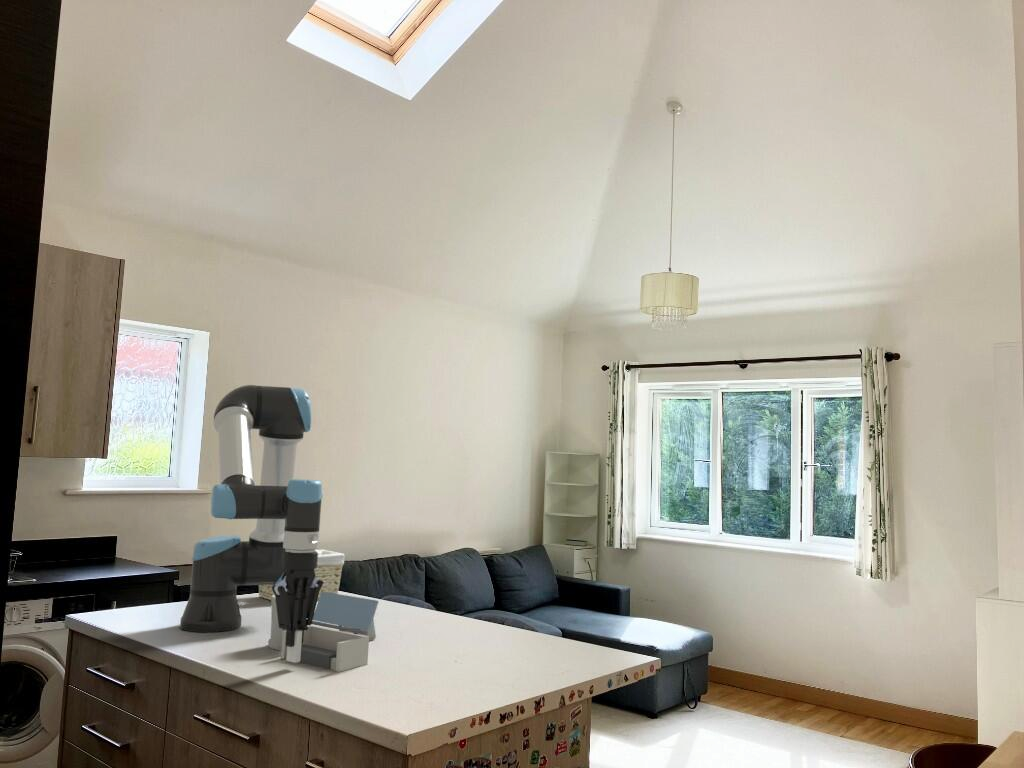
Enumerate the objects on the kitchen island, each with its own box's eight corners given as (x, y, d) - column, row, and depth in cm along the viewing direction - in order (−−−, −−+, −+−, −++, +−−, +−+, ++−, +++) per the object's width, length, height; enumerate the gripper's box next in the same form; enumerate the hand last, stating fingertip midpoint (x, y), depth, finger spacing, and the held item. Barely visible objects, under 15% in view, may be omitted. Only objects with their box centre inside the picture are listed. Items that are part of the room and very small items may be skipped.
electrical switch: (347, 645, 196) (347, 606, 198) (334, 644, 199) (334, 605, 201) (376, 640, 203) (376, 602, 205) (362, 639, 207) (362, 602, 208)
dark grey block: (289, 660, 180) (290, 647, 180) (303, 657, 183) (304, 644, 184) (333, 670, 173) (334, 656, 173) (346, 667, 176) (347, 653, 176)
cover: (320, 590, 192) (324, 592, 193) (309, 623, 188) (313, 625, 189) (376, 600, 182) (379, 601, 183) (365, 634, 179) (369, 636, 180)
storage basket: (319, 591, 274) (322, 547, 275) (344, 598, 262) (347, 553, 263) (253, 597, 258) (256, 550, 259) (276, 605, 246) (279, 556, 247)
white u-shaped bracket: (280, 658, 181) (282, 631, 182) (310, 651, 189) (312, 625, 189) (338, 672, 172) (340, 643, 172) (367, 664, 179) (369, 636, 180)
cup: (318, 645, 195) (322, 595, 196) (297, 653, 186) (300, 600, 188) (282, 640, 198) (285, 591, 200) (259, 648, 190) (263, 596, 191)
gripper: (289, 554, 167) (282, 670, 165) (334, 549, 178) (327, 658, 176) (265, 550, 171) (257, 663, 169) (310, 546, 182) (303, 652, 180)
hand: (293, 660), depth 173 cm, fingers closed
